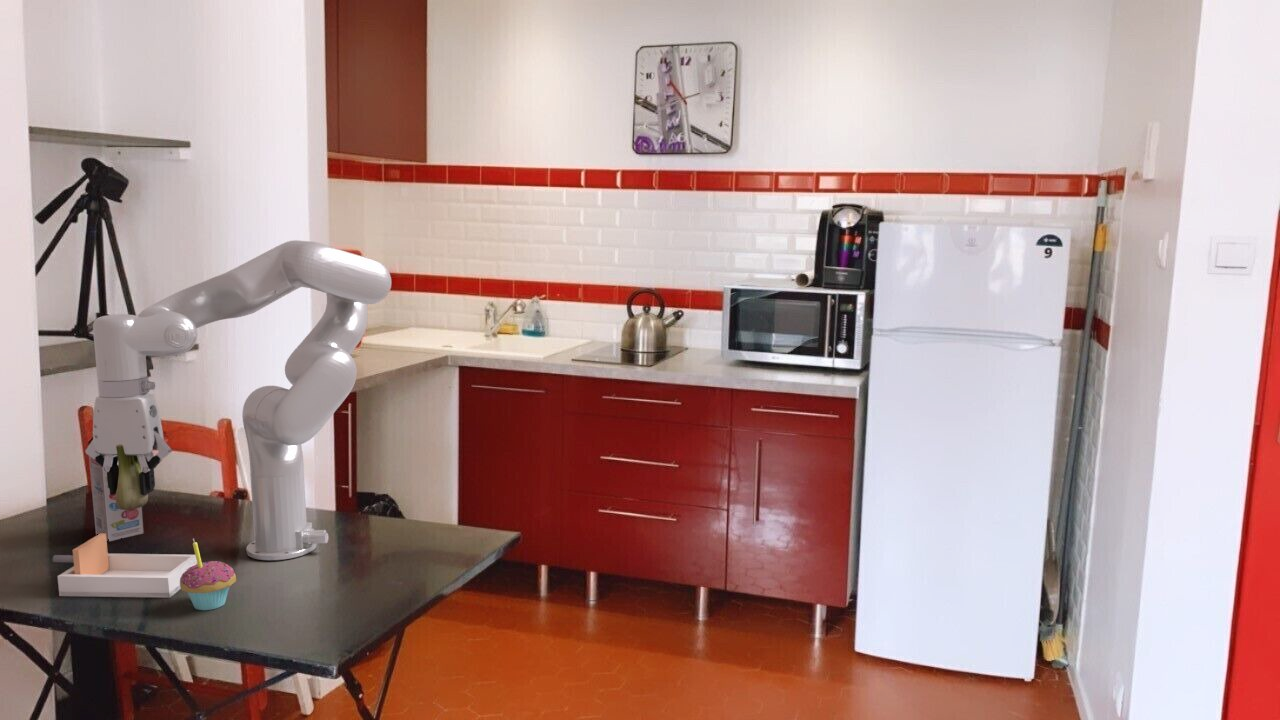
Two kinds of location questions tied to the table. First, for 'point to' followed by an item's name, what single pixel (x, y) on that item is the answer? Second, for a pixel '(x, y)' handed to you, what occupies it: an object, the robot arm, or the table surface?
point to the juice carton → (111, 508)
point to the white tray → (130, 577)
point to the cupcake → (207, 582)
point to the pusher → (88, 556)
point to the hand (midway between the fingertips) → (132, 491)
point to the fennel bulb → (129, 482)
